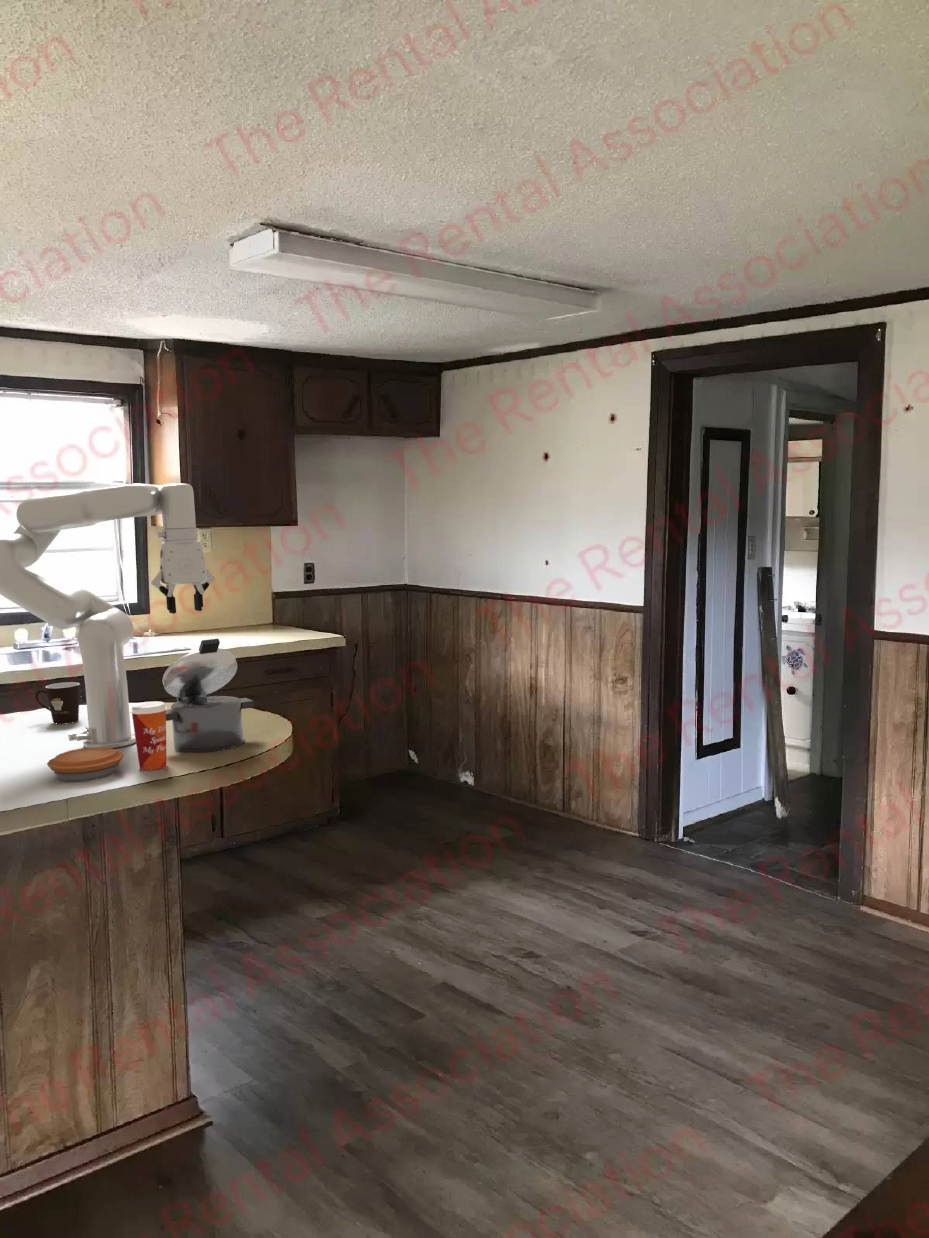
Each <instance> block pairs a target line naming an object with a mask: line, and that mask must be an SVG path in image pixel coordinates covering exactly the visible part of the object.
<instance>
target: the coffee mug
mask: <svg viewBox="0 0 929 1238" xmlns="http://www.w3.org/2000/svg"><path fill="white" fill-rule="evenodd" d="M80 687H81V684H80V682H74V681H71V682H58V683H52V684H49V685H46V686H45V689H40V690H38V691H36V693H35V696H34V697H35V700H36V702H37V703H38V704H39V705H40V706H41V707H42V708H44V709H45V710H48V711H49V712H50V715H51V720H52V723H53V722H54V723H57V724H56V725H66V724H65V723H69V724H73V723H72V722H74V723H76V722H79V719H80V716H79V713H80V689H81V688H80ZM40 693H45V694H46V695H47V699H48V705H49V707H48V706H47V705H45V704H44V703H43V702H42V701H41V700H39V694H40ZM54 723H53V724H54Z"/></svg>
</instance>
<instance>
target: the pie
mask: <svg viewBox="0 0 929 1238" xmlns="http://www.w3.org/2000/svg"><path fill="white" fill-rule="evenodd" d="M124 756H125V755H124V752H123V751H120V750H117V749H115V748H106V747H96V748H86V747H84V748H78V749H73V750H68V751H65V752H62V753H58V755H55V757H53V758H51V759H49V760H48V762H47V763H46V765H47V766H48V768H49V769H50V770H51V771H53V773H54V774H55V775H56V776H57V778H58V779H59V780H60V781H63V782H67V783H79V782H81V783H82V782H90V781H96V780H101V779H104V778H107V777H109V776H112V775H113V774H114V773H115V772H116V770H117V769H118V767H119V764H120V763H121V761H122V760H123V758H124Z"/></svg>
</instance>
